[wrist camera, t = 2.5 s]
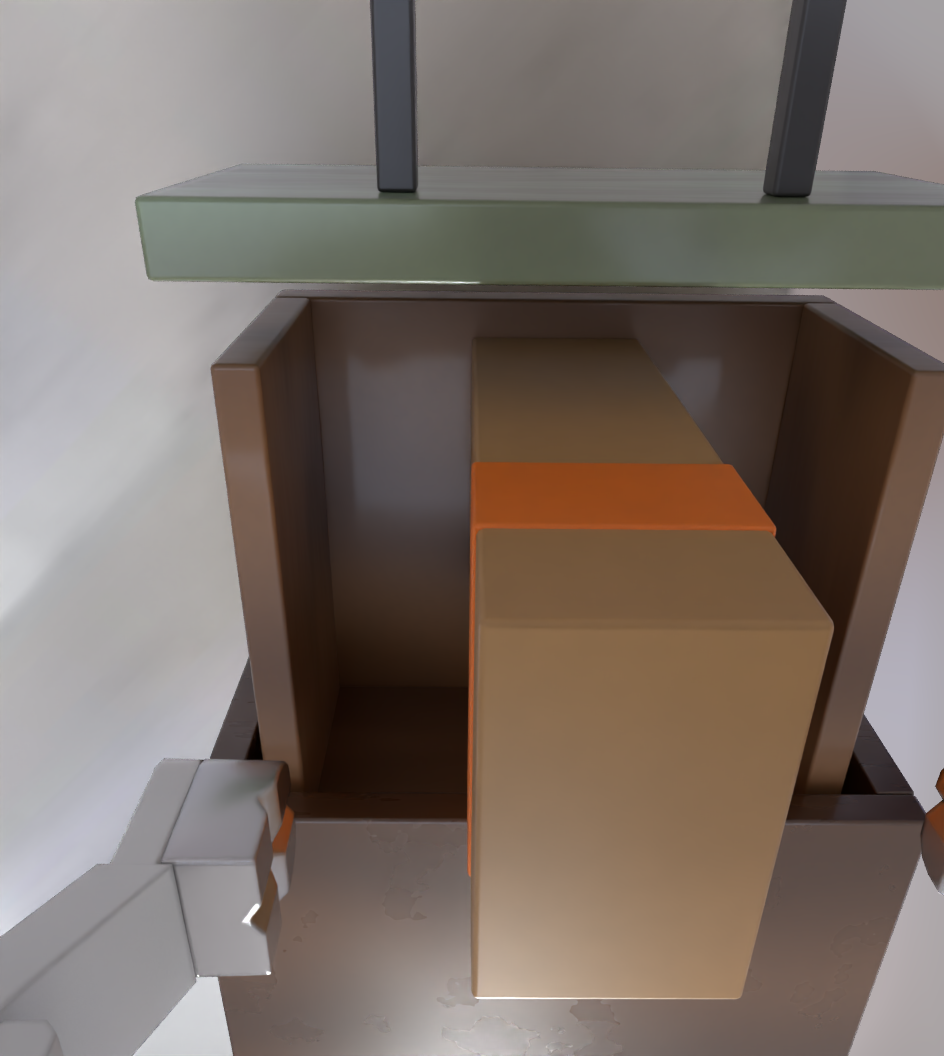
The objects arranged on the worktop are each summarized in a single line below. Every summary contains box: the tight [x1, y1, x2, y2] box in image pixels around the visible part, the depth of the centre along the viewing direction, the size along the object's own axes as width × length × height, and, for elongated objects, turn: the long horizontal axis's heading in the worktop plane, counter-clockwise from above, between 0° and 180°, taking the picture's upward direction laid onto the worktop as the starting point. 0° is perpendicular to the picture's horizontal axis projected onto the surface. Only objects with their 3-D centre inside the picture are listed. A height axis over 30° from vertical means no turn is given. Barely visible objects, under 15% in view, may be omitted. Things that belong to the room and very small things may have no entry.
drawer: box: [135, 0, 944, 794], centre depth 17 cm, size 19×13×6 cm
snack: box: [467, 338, 834, 999], centre depth 15 cm, size 6×4×11 cm, turn 179°
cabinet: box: [210, 658, 926, 1056], centre depth 23 cm, size 15×15×8 cm
